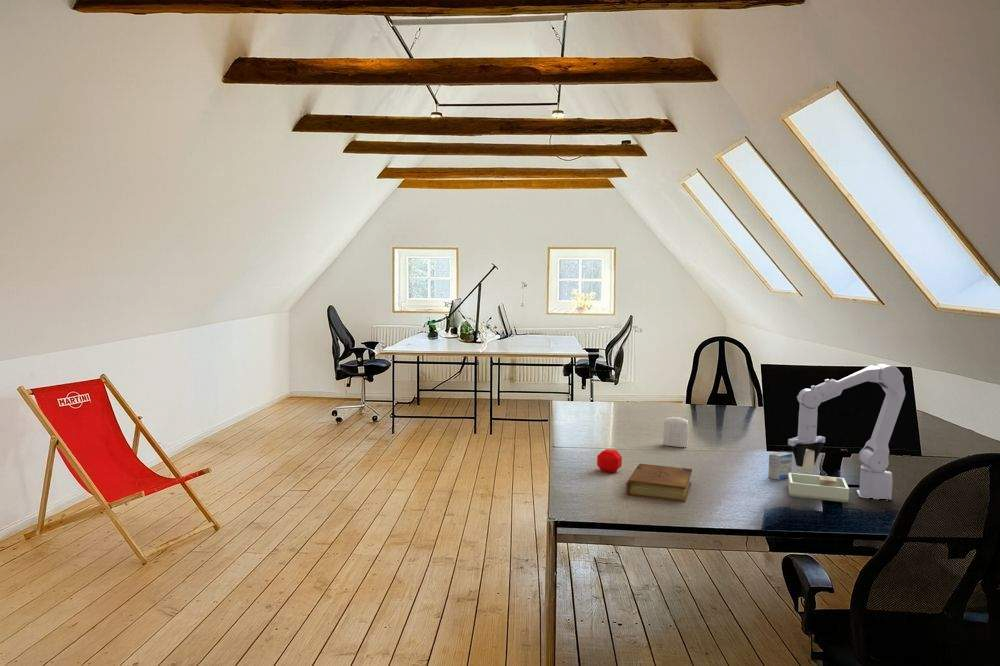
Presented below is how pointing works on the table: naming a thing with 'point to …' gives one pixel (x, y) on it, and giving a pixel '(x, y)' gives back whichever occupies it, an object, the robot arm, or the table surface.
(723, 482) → the table surface
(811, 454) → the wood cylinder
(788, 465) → the medicine box
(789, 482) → the tote
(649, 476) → the diary
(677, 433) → the white rounded block
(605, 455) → the ball
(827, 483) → the oak cube
